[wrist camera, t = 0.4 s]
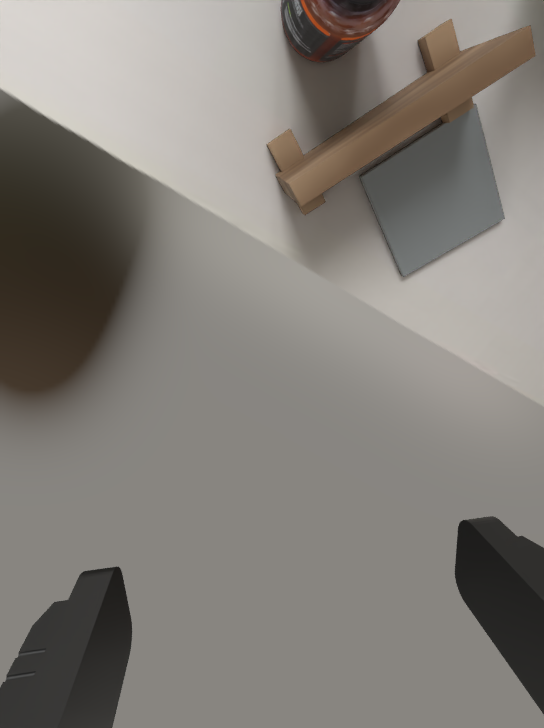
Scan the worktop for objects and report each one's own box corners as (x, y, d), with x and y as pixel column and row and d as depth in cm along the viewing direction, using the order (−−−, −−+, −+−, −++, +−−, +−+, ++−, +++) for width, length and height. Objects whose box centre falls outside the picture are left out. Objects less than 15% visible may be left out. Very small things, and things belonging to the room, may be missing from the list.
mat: (359, 176, 33) (361, 177, 32) (471, 104, 31) (475, 104, 31) (401, 275, 38) (403, 276, 37) (500, 217, 36) (504, 218, 35)
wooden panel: (261, 148, 31) (271, 150, 24) (449, 18, 28) (522, -21, 21) (297, 216, 34) (316, 235, 27) (471, 104, 31) (542, 94, 24)
